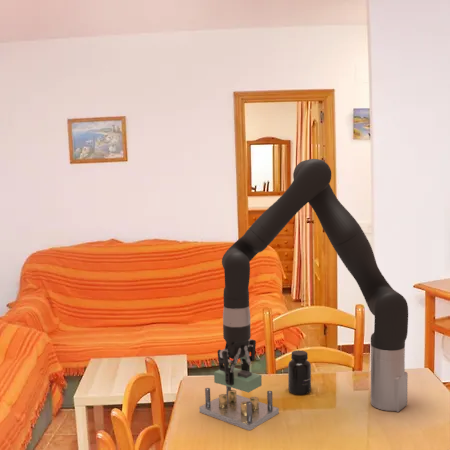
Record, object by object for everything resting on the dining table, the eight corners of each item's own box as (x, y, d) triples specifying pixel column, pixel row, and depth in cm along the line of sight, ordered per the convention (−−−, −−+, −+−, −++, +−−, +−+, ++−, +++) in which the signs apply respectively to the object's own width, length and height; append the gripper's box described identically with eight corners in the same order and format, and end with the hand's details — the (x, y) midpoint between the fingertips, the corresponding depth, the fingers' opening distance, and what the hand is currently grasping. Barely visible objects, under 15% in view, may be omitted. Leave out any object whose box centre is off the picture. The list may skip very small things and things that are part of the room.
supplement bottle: (310, 396, 164) (310, 357, 163) (287, 394, 165) (286, 356, 164) (311, 387, 171) (311, 349, 169) (289, 386, 172) (288, 348, 171)
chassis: (278, 413, 153) (278, 390, 152) (249, 430, 143) (248, 406, 143) (229, 396, 165) (229, 375, 164) (199, 412, 155) (198, 389, 154)
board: (261, 385, 152) (261, 371, 151) (248, 392, 147) (248, 378, 147) (227, 375, 159) (227, 362, 159) (214, 382, 155) (214, 368, 154)
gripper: (230, 330, 144) (231, 392, 145) (263, 318, 154) (264, 376, 156) (208, 325, 149) (210, 385, 150) (242, 314, 159) (243, 370, 161)
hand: (237, 380), depth 153 cm, fingers closed on board, 6 cm apart
